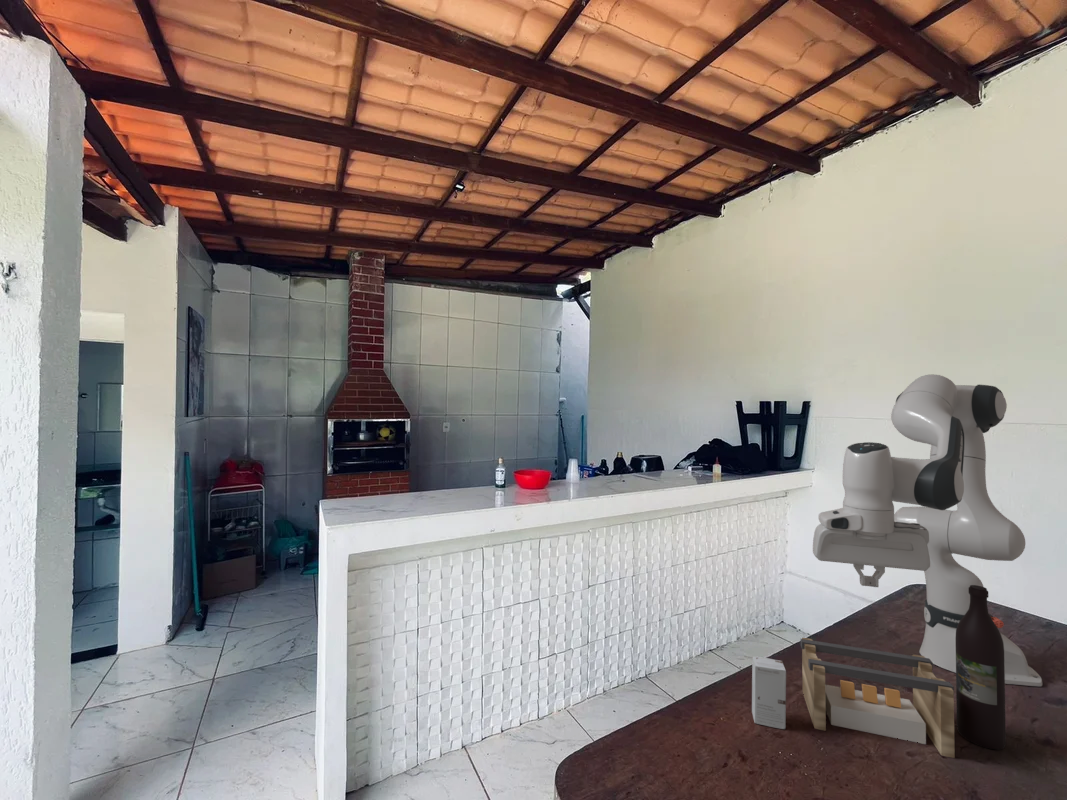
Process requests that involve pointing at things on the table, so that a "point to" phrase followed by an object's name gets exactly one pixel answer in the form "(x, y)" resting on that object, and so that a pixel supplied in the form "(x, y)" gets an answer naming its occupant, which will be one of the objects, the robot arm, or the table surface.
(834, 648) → the long charcoal square rod
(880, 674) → the grey bar
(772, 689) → the skincare box
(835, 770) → the table surface
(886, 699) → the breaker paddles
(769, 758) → the table surface
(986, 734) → the wine bottle
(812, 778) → the table surface
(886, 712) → the breaker strip
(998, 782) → the table surface
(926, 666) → the rack
